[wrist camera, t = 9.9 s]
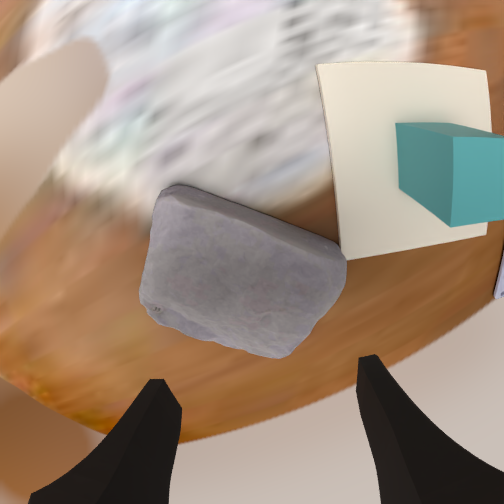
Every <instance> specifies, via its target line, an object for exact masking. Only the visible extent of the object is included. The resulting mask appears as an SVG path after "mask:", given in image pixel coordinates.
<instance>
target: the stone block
mask: <svg viewBox="0 0 504 504" xmlns="http://www.w3.org/2000/svg"><path fill="white" fill-rule="evenodd" d="M152 220H153V224H152V228H151V231H150V244H149V249H148V253H147V257H146V262H145V267H144V271H143V273H142V281H141V285H140V288H139V298H140V303H141V304H142V305H143V306H145V307H146V308H147V313H148V315H150V316H151V317H152V318H153V319H154V320H155V321H156V322H157V323H158V324H160V325H162V326H166V327H172V328H175V329H177V330H179V331H181V332H182V333H183V334H185V335H187V336H190V337H193V338H195V339H199V340H203V341H215V342H217V343H219V344H222V345H224V346H227V347H232V348H236V349H244V350H246V351H248V352H249V353H252V354H256V355H260V356H264V357H270V358H277V359H280V358H282V357H286V356H288V355H289V354H291V353H292V352H293V350H294V349H295V348H296V347H297V346H298V345H299V344H300V343H301V342H302V341H303V340H304V339H305V338H306V337H307V336H308V335H309V334H310V332H311V330H312V329H313V327H314V325H315V324H316V322H317V321H318V320H319V319H320V318H322V317H323V316H324V315H325V314H326V313H327V311H328V310H329V309H330V308H331V307H332V306H333V304H334V303H335V302H336V300H337V299H338V297H339V296H340V294H341V292H342V290H343V288H344V286H345V282H346V274H347V260H346V258H345V256H344V255H343V254H342V252H341V249H340V248H339V246H338V245H337V244H336V243H335V242H333V241H331V240H329V239H326V238H324V237H322V236H320V235H317V234H315V233H312V232H309V231H306V230H304V229H302V228H299V227H297V226H294V225H292V224H289V223H286V222H284V221H281V220H279V219H276V218H274V217H271V216H269V215H266V214H263V213H260V212H257V211H255V210H252V209H250V208H247V207H245V206H242V205H239V204H236V203H233V202H229V201H227V200H225V199H222V198H219V197H217V196H214V195H212V194H209V193H206V192H204V191H201V190H198V189H195V188H192V187H190V186H183V185H175V186H172V187H169V188H167V189H164V190H162V191H161V193H160V194H159V196H158V198H157V200H156V203H155V206H154V211H153V215H152Z"/></svg>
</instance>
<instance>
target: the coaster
mask: <svg viewBox="0 0 504 504" xmlns="http://www.w3.org/2000/svg"><path fill="white" fill-rule="evenodd" d="M315 67H316V72H317V77H318V82H319V88H320V93H321V99H322V105H323V110H324V117H325V123H326V129H327V136H328V143H329V150H330V158H331V166H332V174H333V183H334V192H335V202H336V213H337V224H338V237H339V248H340V249H341V252H342V254H343V255H344V256H345V258H346V260H352V259H358V258H364V257H370V256H375V255H381V254H387V253H392V252H398V251H403V250H409V249H414V248H420V247H425V246H430V245H436V244H441V243H446V242H451V241H457V240H462V239H467V238H472V237H477V236H482V235H486V231H487V224H488V222H484V223H477V224H471V225H464V226H458V227H451V228H450V227H449V226H448V225H446V224H445V223H444V222H443V221H441V220H440V219H439V218H438V217H436V216H435V215H434V214H432V213H431V212H430V211H429V210H427V209H426V208H425V207H423V206H422V205H421V204H419V203H418V202H417V201H415V200H414V199H413V198H411V197H410V196H408V195H407V194H406V193H404V192H403V191H402V190H400V189H399V179H398V155H397V139H396V127H395V123H414V122H436V123H453V124H458V125H462V126H467V127H471V128H475V129H479V130H483V131H487V132H491V133H492V131H491V113H490V101H489V91H488V83H487V76H486V71H484V70H478V69H472V68H465V67H457V66H449V65H439V64H428V63H413V62H343V63H327V64H317V65H315Z"/></svg>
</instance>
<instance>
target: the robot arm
mask: <svg viewBox="0 0 504 504" xmlns="http://www.w3.org/2000/svg"><path fill="white" fill-rule="evenodd" d="M493 296H494V297H495V299H499V298H502V297H504V252H503V257H502V262H501V266H500V271H499V275H498V279H497V283H496V287H495V291H494V295H493ZM356 393H357V399H358V404H359V409H360V414H361V418H362V421H363V425H364V428H365V431H366V435H367V438H368V441H369V445H370V448H371V451H372V455H373V458H374V462H375V465H376V470H377V476H378V483H379V490H380V498H381V504H504V472H502V471H500V470H498V469H496V468H495V467H493V466H491V465H489V464H487V463H486V462H484V461H482V460H481V459H479V458H477V457H476V456H474V455H473V454H471V453H470V452H469V451H467V450H466V449H464V448H463V447H462V446H460V445H459V444H457V443H456V442H455V441H454V440H452V439H451V438H450V437H449V436H447V435H446V434H445V433H444V432H443V431H442V430H440V429H439V428H438V427H437V426H436V425H435V424H434V423H433V422H432V421H431V420H430V419H429V418H428V417H427V416H426V415H425V414H424V413H423V412H422V411H421V410H420V409H419V408H418V407H417V406H416V404H414V402H413V401H412V400H411V399H410V398H409V397H408V395H407V394H406V393H405V392H404V391H403V389H402V388H401V387H400V386H399V385H398V383H397V382H396V381H395V379H394V378H393V377H392V376H391V374H390V373H389V372H388V370H387V369H386V367H385V366H384V364H383V363H382V362H381V360H380V359H379V357H378V356H377V355H375V354H374V355H369V356H365V357H360V358H359V361H358V374H357V386H356ZM181 418H182V407H181V406H180V404H179V403H178V401H177V400H176V398H175V397H174V395H173V393H172V392H171V390H170V389H169V387H168V385H167V384H166V382H165V380H164V379H150V380H149V381H148V382H147V384H146V385H145V386H144V388H143V389H142V390H141V392H140V393H139V395H138V396H137V397H136V399H135V400H134V401H133V403H132V404H131V405H130V407H129V408H128V409H127V411H126V412H125V413H124V415H123V416H122V417H121V419H120V420H119V421H118V423H117V424H116V425H115V426H114V428H113V429H112V430H111V431H110V432H109V433H108V435H107V436H106V437H105V438H104V439H103V440H102V442H101V443H100V444H99V445H98V446H97V447H96V448H95V449H94V450H93V451H92V452H91V453H90V454H89V455H88V456H87V457H86V458H84V459H83V460H82V461H81V462H80V463H78V464H77V465H76V466H75V467H74V468H72V469H71V470H70V471H69V472H67V473H66V474H64V475H63V476H62V477H60V478H59V479H57V480H56V481H54V482H52V483H51V484H49V485H47V486H45V487H43V488H42V489H40V490H38V491H36V492H34V493H31V496H30V499H29V502H28V504H169V488H170V480H171V474H172V469H173V464H174V460H175V455H176V450H177V446H178V441H179V436H180V430H181Z"/></svg>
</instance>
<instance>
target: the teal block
mask: <svg viewBox="0 0 504 504" xmlns="http://www.w3.org/2000/svg"><path fill="white" fill-rule="evenodd" d="M395 127H396V139H397V155H398V179H399V189H400V190H402V191H403V192H404V193H406V194H407V195H408V196H410V197H411V198H413V199H414V200H415V201H417V202H418V203H419V204H421V205H422V206H423V207H425V208H426V209H427V210H429V211H430V212H431V213H432V214H434V215H435V216H436V217H438V218H439V219H440V220H441V221H443V222H444V223H445V224H446V225H448V226H449V227H450V228H451V227H458V226H464V225H471V224H477V223H484V222H490V221H497V220H503V219H504V136H502V135H498V134H494V133H491V132H487V131H483V130H479V129H475V128H471V127H467V126H462V125H458V124H453V123H436V122H414V123H395Z"/></svg>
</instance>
